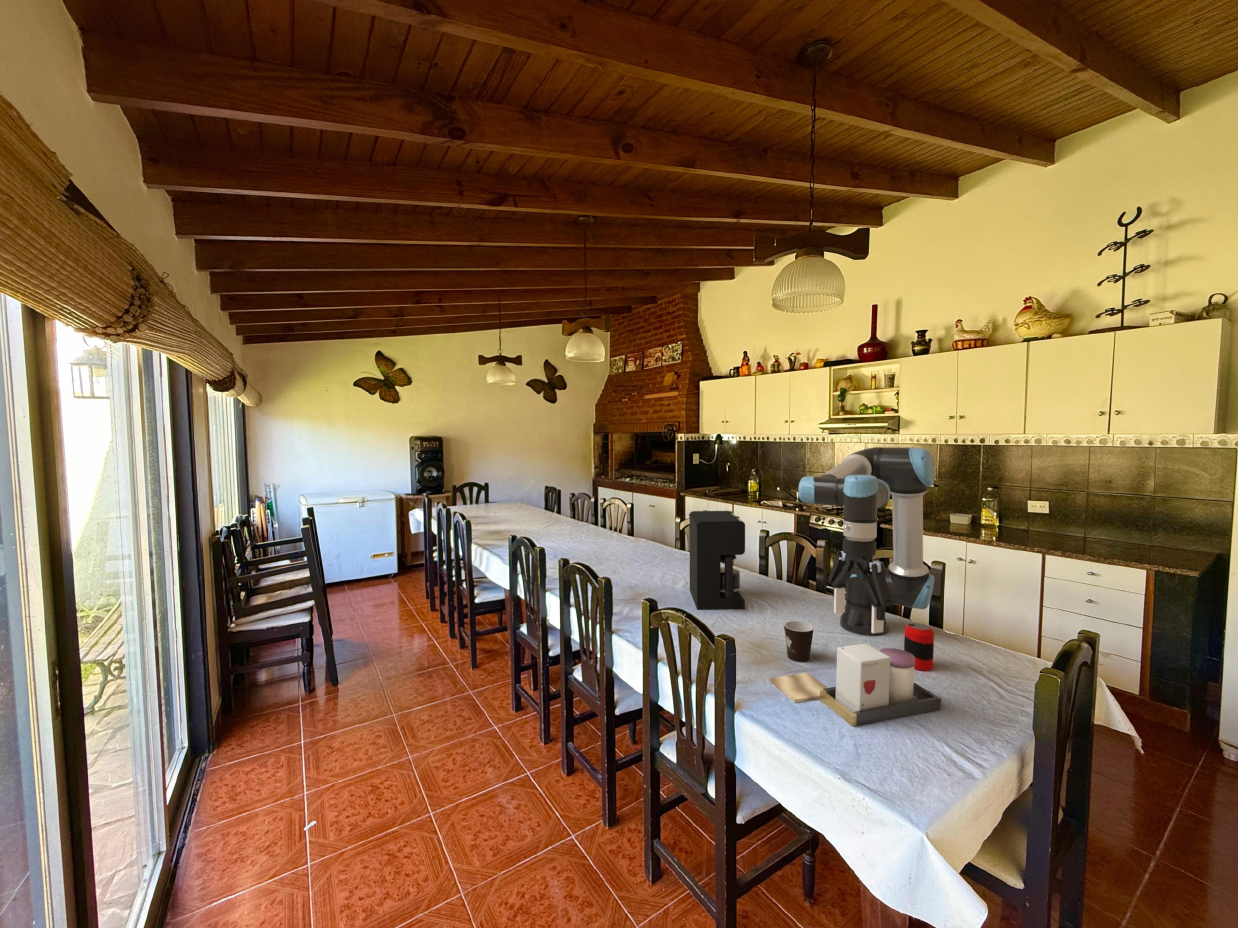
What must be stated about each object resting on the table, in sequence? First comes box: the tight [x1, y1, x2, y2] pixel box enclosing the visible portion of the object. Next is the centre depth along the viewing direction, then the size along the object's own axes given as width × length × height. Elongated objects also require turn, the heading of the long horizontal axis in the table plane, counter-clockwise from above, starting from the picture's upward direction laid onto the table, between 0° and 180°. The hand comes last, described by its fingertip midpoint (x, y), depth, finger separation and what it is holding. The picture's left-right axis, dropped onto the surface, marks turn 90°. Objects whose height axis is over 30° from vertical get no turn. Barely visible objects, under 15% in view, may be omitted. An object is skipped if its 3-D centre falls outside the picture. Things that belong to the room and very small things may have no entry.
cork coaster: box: [769, 672, 828, 704], centre depth 144 cm, size 12×12×1 cm
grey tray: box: [819, 682, 942, 727], centre depth 135 cm, size 26×12×3 cm, turn 105°
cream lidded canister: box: [879, 647, 915, 705], centre depth 136 cm, size 8×8×13 cm
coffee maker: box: [688, 510, 746, 611], centre depth 213 cm, size 28×20×35 cm
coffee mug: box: [783, 620, 814, 663], centre depth 164 cm, size 12×9×10 cm
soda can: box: [903, 622, 935, 672], centre depth 156 cm, size 8×8×12 cm
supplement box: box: [835, 643, 890, 714], centre depth 133 cm, size 9×9×15 cm
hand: (857, 621), depth 131 cm, fingers open, 13 cm apart
